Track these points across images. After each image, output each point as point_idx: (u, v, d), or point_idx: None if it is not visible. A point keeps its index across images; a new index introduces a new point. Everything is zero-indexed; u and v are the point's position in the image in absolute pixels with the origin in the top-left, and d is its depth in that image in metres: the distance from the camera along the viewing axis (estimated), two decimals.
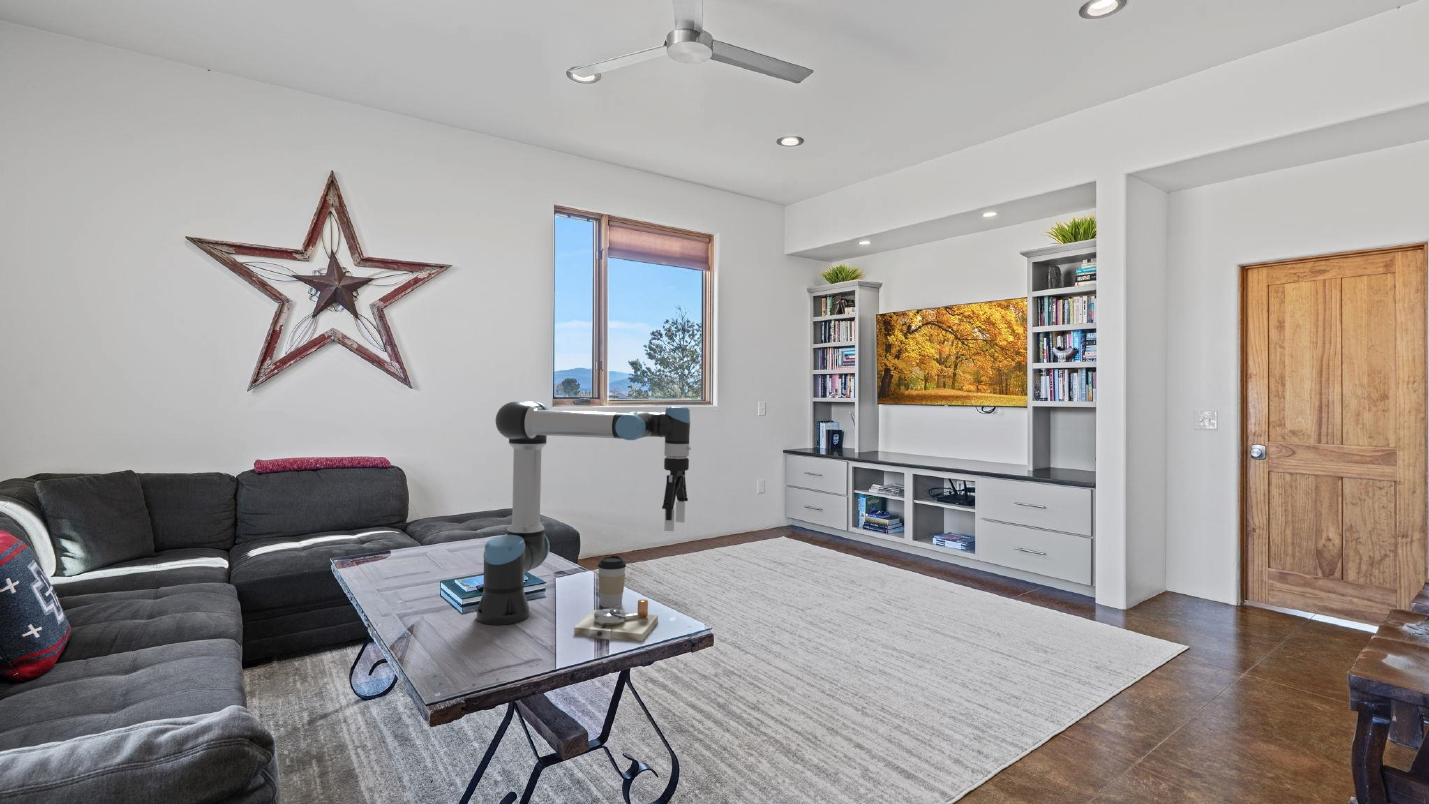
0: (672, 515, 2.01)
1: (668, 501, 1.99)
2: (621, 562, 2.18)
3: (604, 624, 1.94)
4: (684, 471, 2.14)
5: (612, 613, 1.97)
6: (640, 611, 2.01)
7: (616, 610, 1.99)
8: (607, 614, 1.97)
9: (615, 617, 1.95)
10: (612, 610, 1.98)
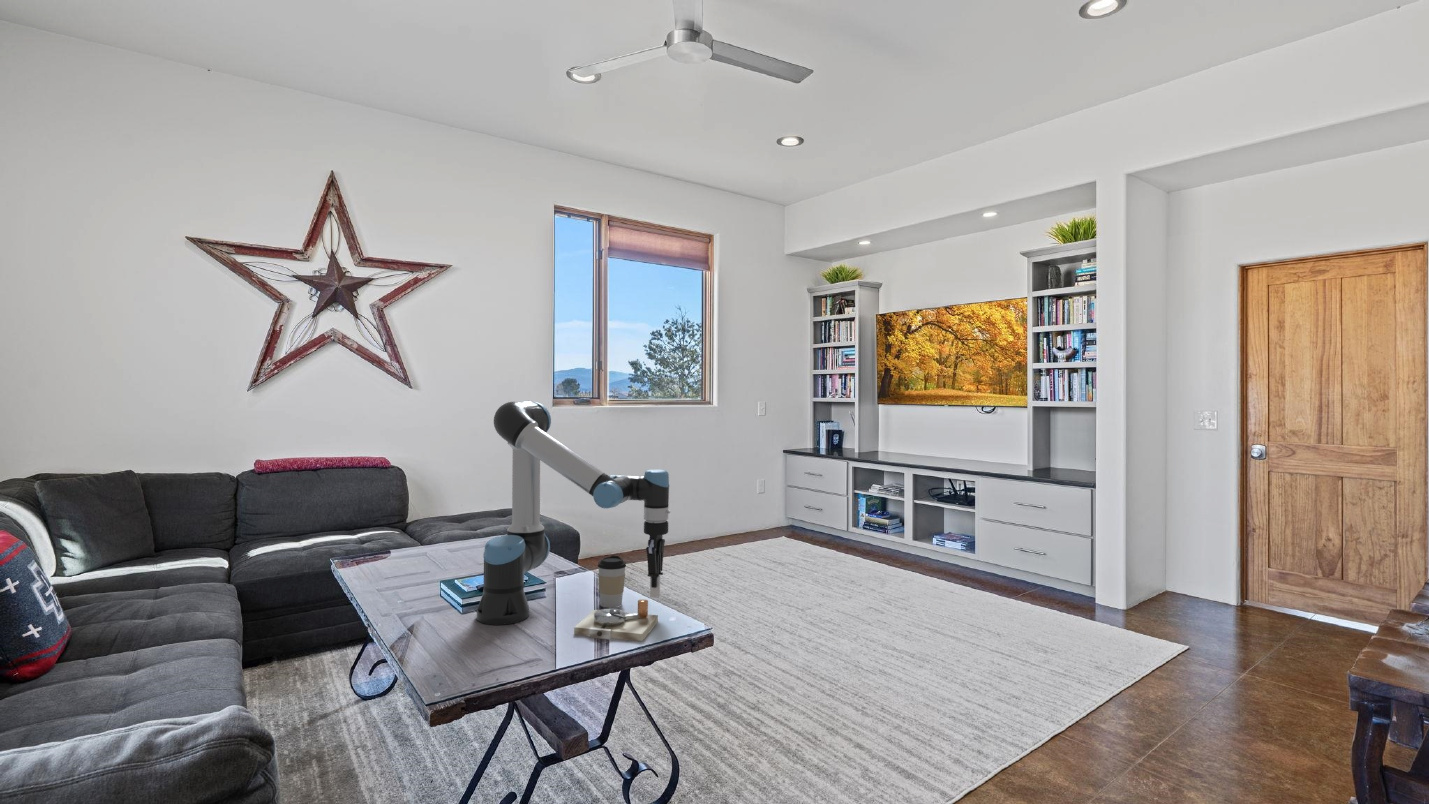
0: (657, 582, 2.09)
1: (652, 571, 2.06)
2: (621, 562, 2.18)
3: (604, 624, 1.94)
4: (664, 539, 2.15)
5: (612, 613, 1.97)
6: (640, 611, 2.01)
7: (616, 610, 1.99)
8: (607, 614, 1.97)
9: (615, 617, 1.95)
10: (612, 610, 1.98)
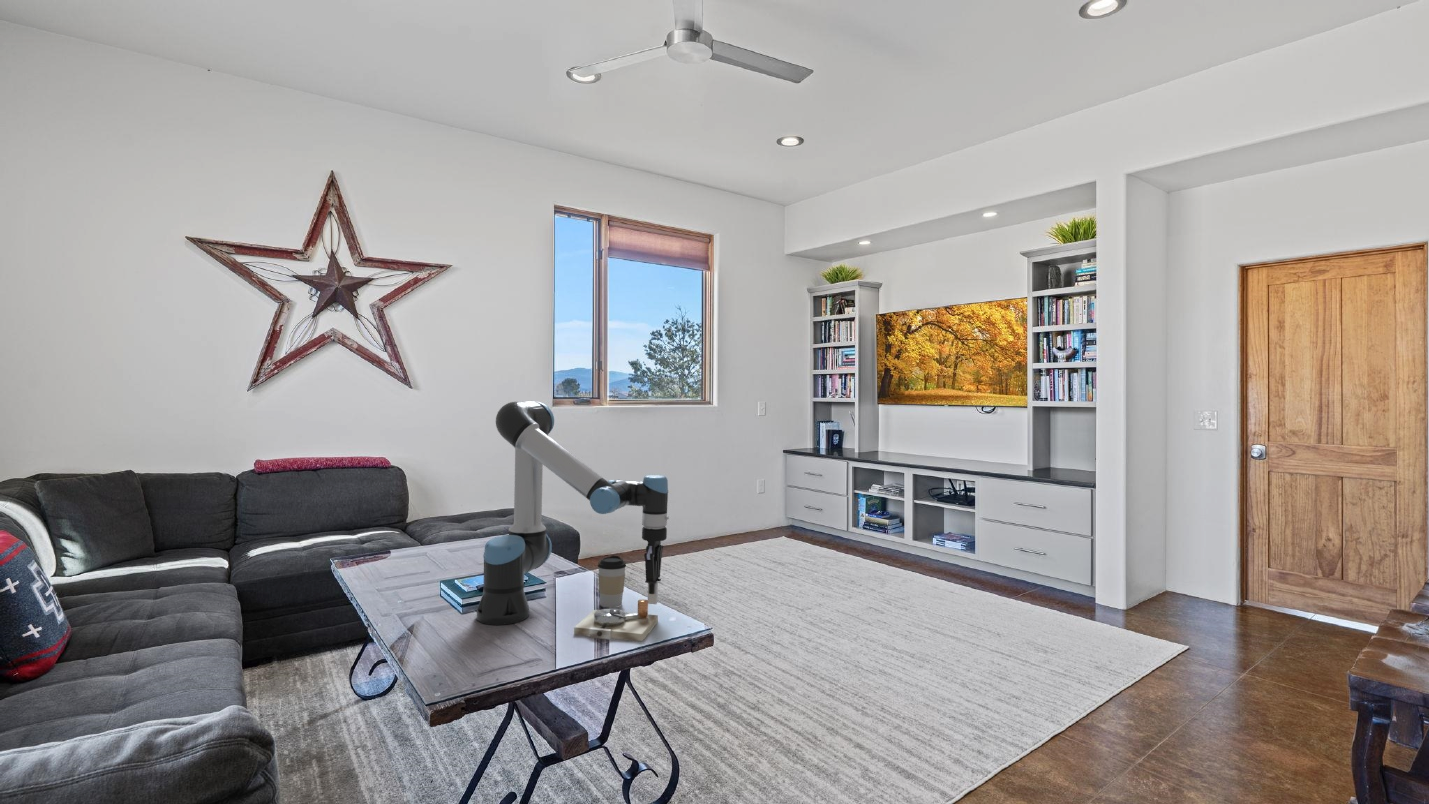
0: (655, 589, 2.07)
1: (650, 578, 2.04)
2: (621, 562, 2.18)
3: (604, 624, 1.94)
4: (662, 545, 2.13)
5: (612, 613, 1.97)
6: (640, 611, 2.01)
7: (616, 610, 1.99)
8: (607, 614, 1.97)
9: (615, 617, 1.95)
10: (612, 610, 1.98)
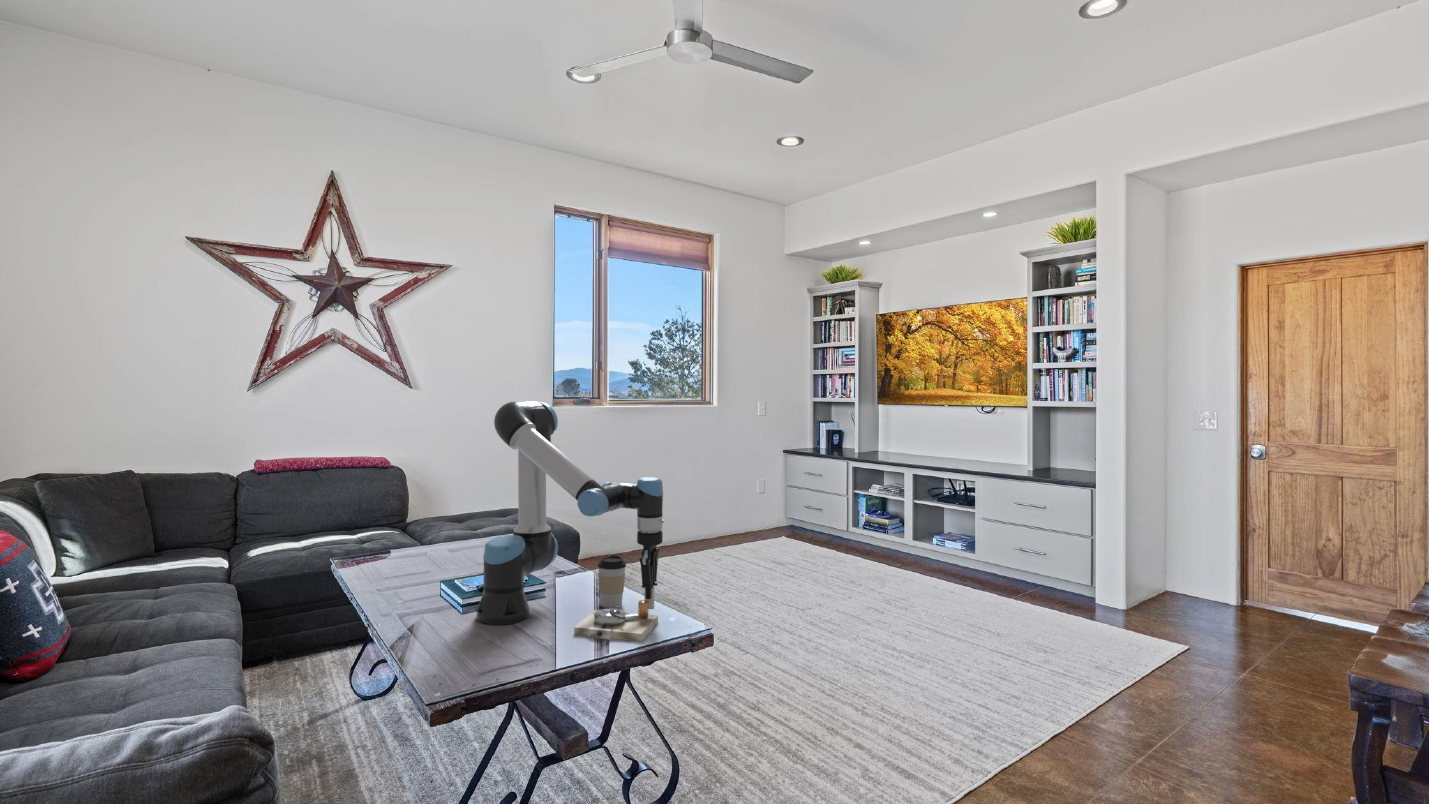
0: (652, 593, 2.02)
1: (646, 583, 1.99)
2: (621, 562, 2.18)
3: (603, 624, 1.94)
4: None
5: (612, 613, 1.97)
6: (640, 612, 2.00)
7: (616, 610, 1.98)
8: (607, 614, 1.98)
9: (614, 617, 1.95)
10: (612, 610, 1.98)
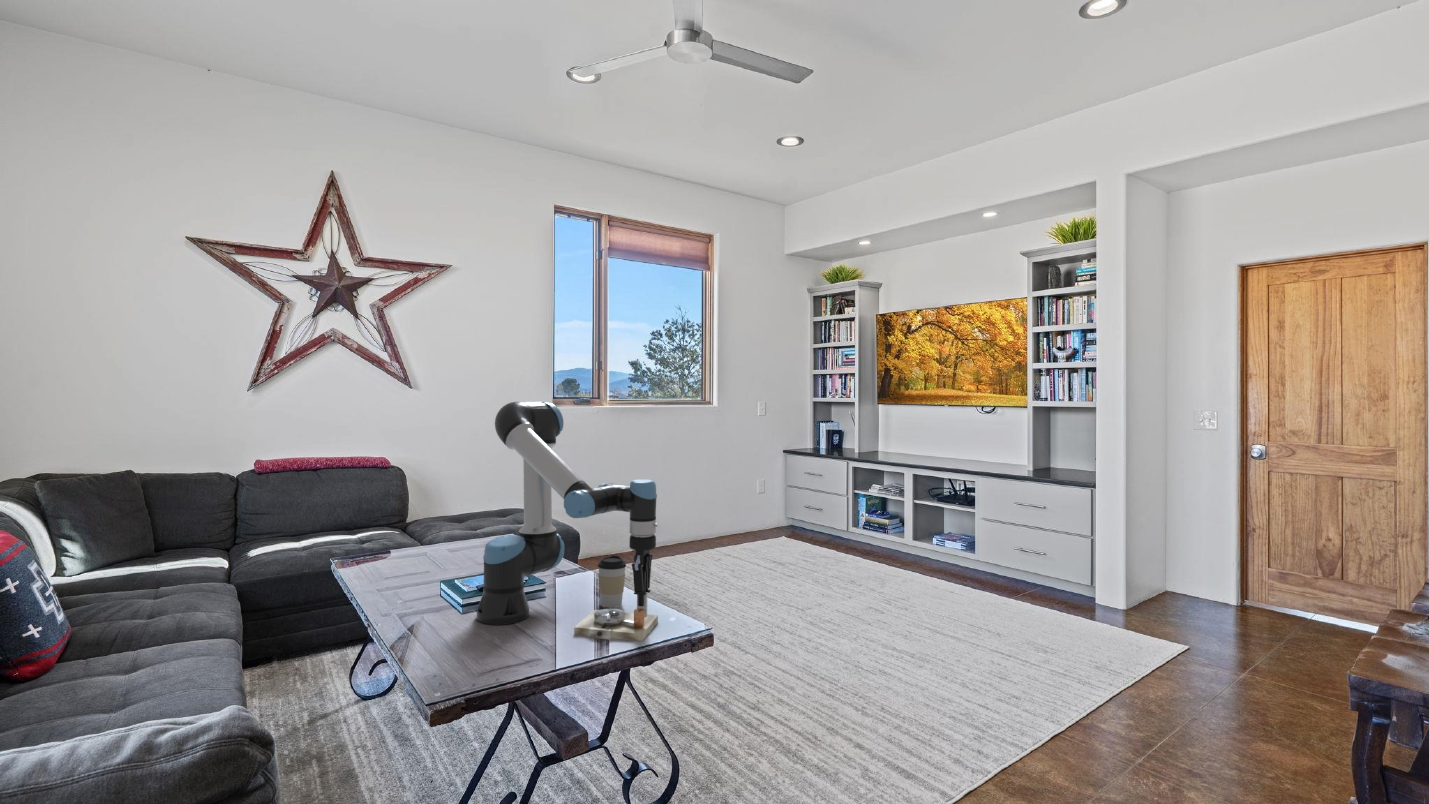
0: (644, 600, 1.95)
1: (639, 589, 1.92)
2: (621, 562, 2.18)
3: (594, 621, 1.96)
4: (651, 554, 2.01)
5: (609, 613, 1.97)
6: None
7: (615, 612, 1.97)
8: (607, 613, 1.98)
9: (604, 617, 1.94)
10: (612, 611, 1.98)
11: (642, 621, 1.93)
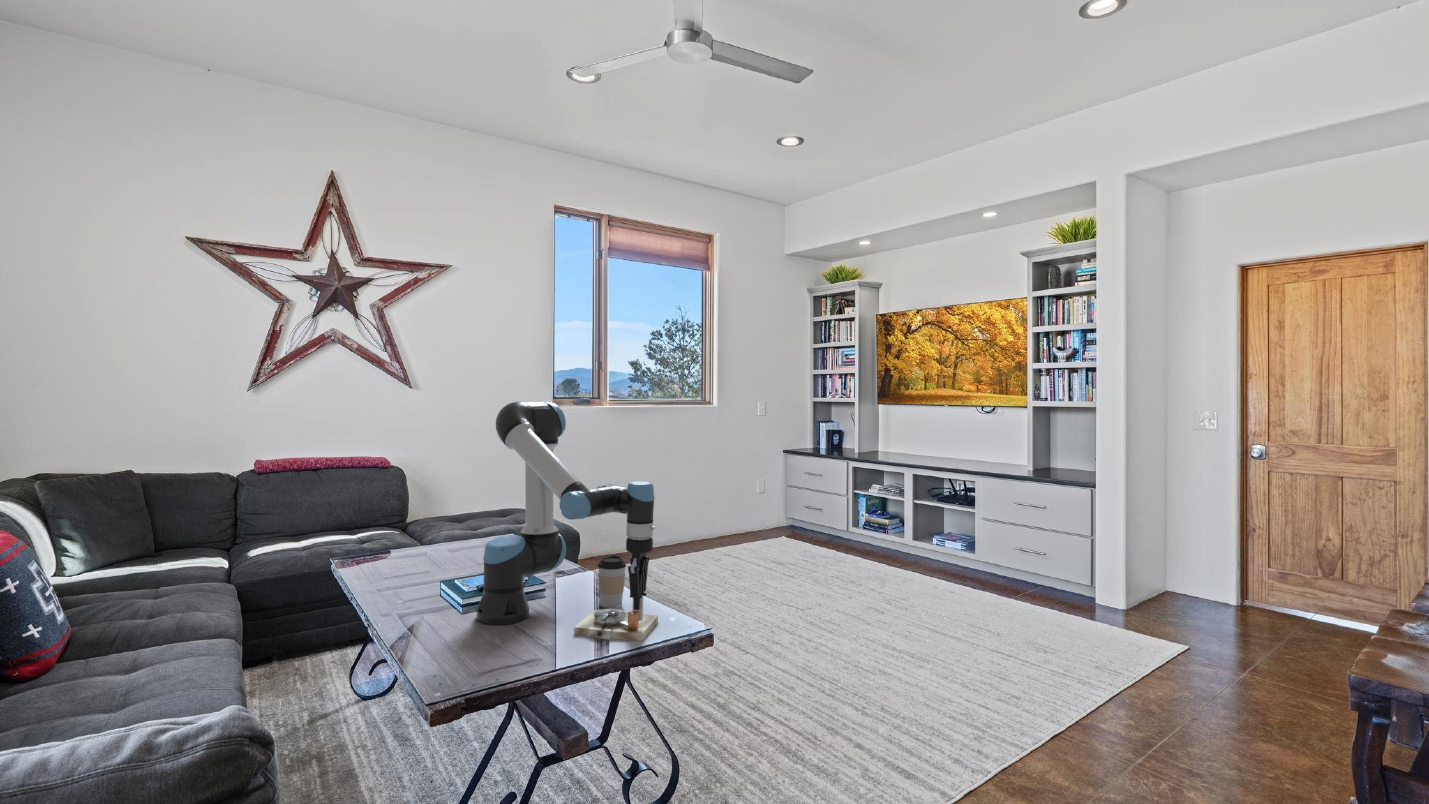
0: (640, 604, 1.92)
1: (635, 592, 1.89)
2: (621, 562, 2.18)
3: (594, 620, 1.97)
4: (648, 557, 1.98)
5: (608, 613, 1.97)
6: (627, 622, 1.91)
7: (613, 612, 1.97)
8: (607, 613, 1.98)
9: (601, 617, 1.95)
10: (612, 611, 1.98)
11: (635, 624, 1.90)
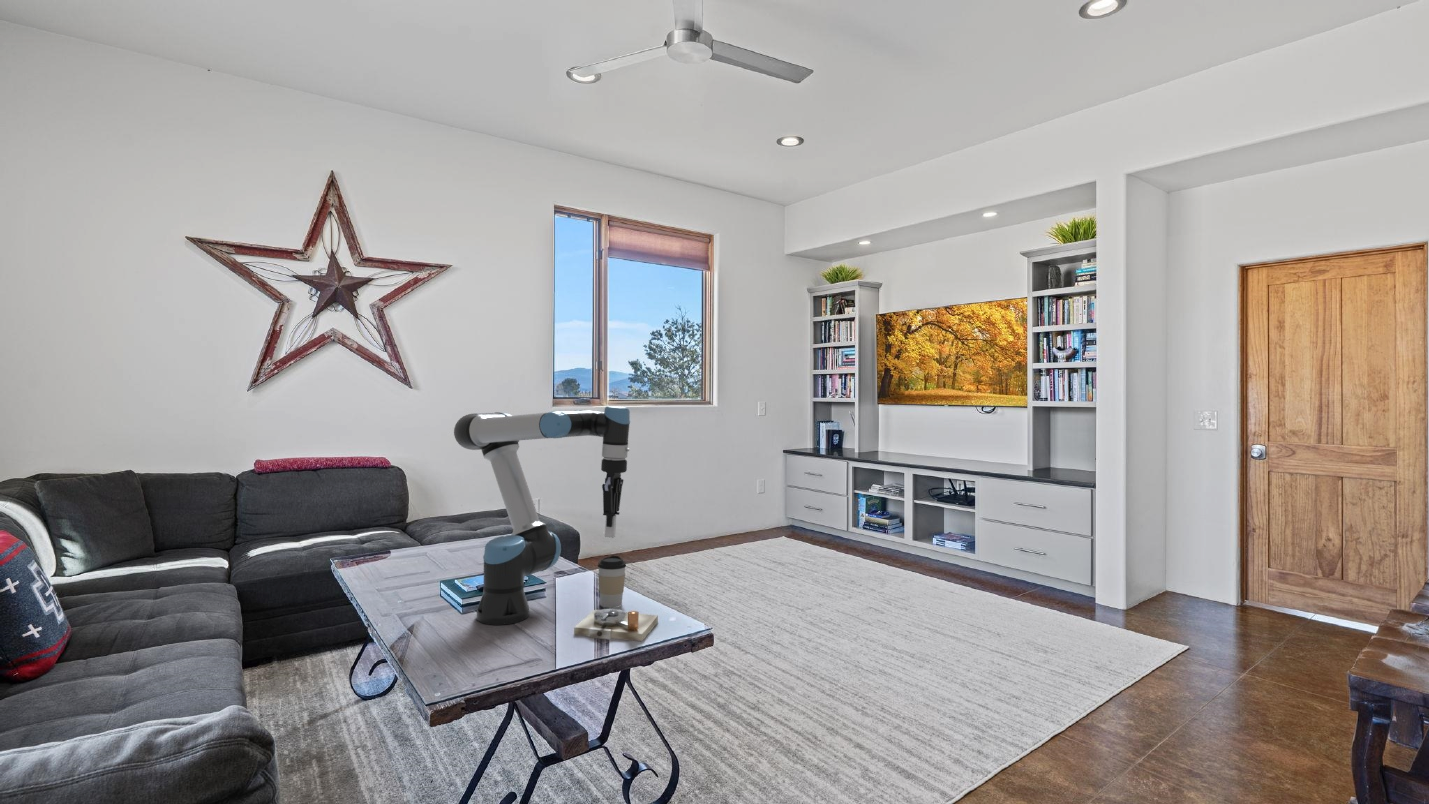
0: (613, 522, 2.03)
1: (608, 510, 1.99)
2: (621, 562, 2.18)
3: (594, 620, 1.97)
4: (622, 479, 2.08)
5: (608, 613, 1.97)
6: (627, 622, 1.91)
7: (613, 612, 1.97)
8: (607, 613, 1.98)
9: (601, 617, 1.95)
10: (612, 611, 1.98)
11: (635, 624, 1.90)
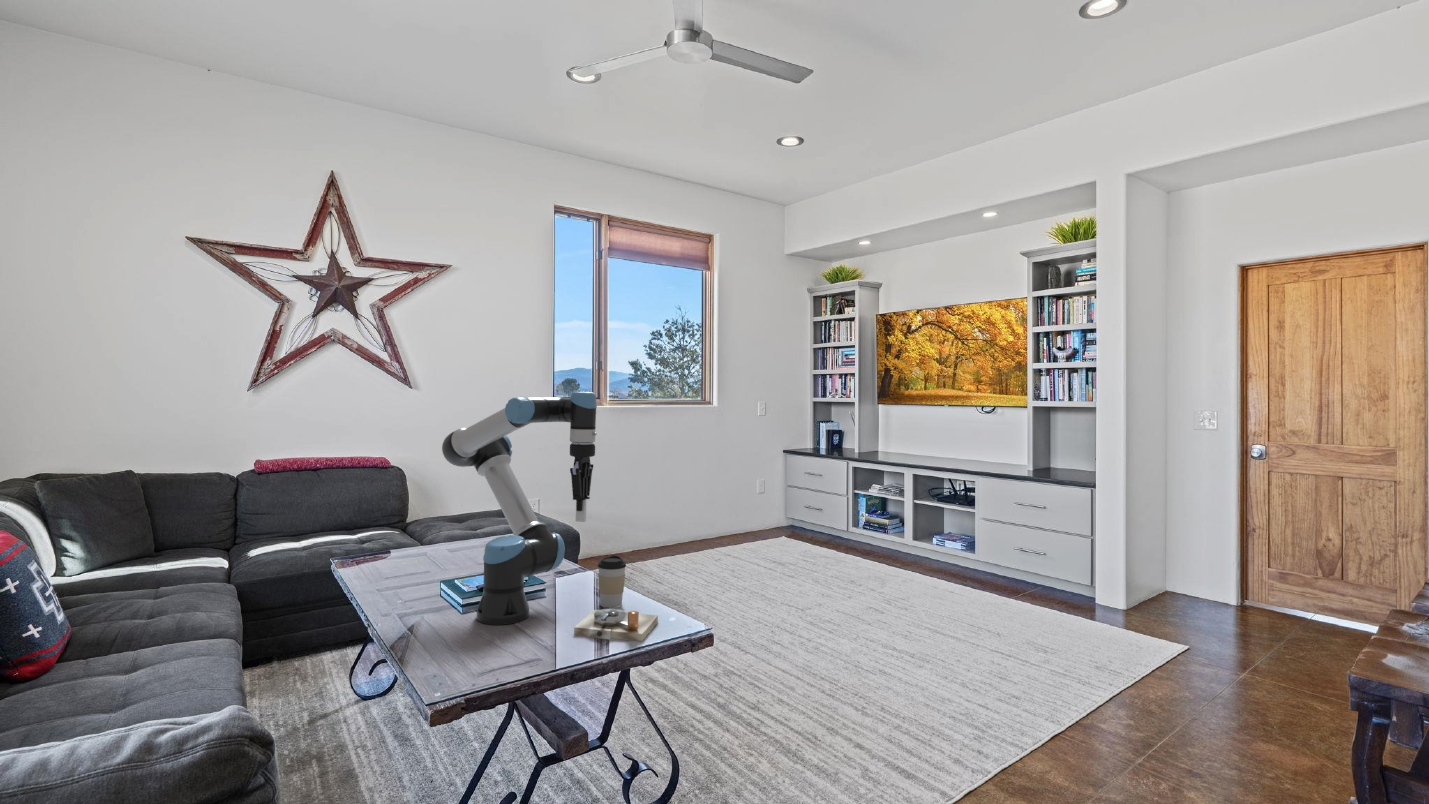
0: (583, 506, 2.04)
1: (577, 493, 2.01)
2: (621, 562, 2.18)
3: (594, 620, 1.97)
4: (592, 464, 2.11)
5: (608, 613, 1.97)
6: (627, 622, 1.91)
7: (613, 612, 1.97)
8: (607, 613, 1.98)
9: (601, 617, 1.95)
10: (612, 611, 1.98)
11: (635, 624, 1.90)
